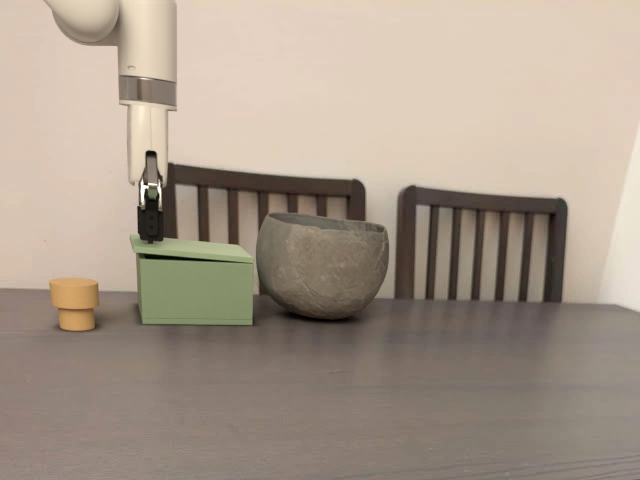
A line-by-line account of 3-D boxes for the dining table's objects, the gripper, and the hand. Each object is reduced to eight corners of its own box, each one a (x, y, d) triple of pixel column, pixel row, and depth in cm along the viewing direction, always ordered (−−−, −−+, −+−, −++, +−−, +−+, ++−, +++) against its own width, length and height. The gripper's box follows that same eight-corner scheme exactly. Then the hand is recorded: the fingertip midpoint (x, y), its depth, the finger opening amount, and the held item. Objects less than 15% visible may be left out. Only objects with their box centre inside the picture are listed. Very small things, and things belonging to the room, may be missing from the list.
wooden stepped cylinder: (44, 329, 95) (40, 282, 93) (66, 320, 101) (63, 276, 98) (88, 334, 95) (85, 287, 93) (108, 324, 100) (105, 280, 98)
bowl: (251, 327, 106) (253, 218, 100) (256, 300, 125) (258, 207, 119) (390, 335, 109) (401, 229, 102) (375, 308, 127) (383, 217, 121)
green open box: (142, 324, 102) (139, 259, 99) (138, 304, 114) (135, 246, 111) (252, 325, 107) (253, 263, 104) (237, 306, 119) (238, 250, 115)
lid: (133, 252, 98) (133, 208, 96) (129, 239, 110) (129, 200, 108) (253, 263, 104) (256, 222, 102) (238, 250, 115) (240, 212, 113)
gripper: (117, 95, 103) (121, 229, 111) (120, 88, 89) (124, 244, 96) (171, 102, 106) (172, 233, 113) (183, 97, 91) (183, 247, 98)
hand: (150, 236), depth 104 cm, fingers closed on lid, 5 cm apart
